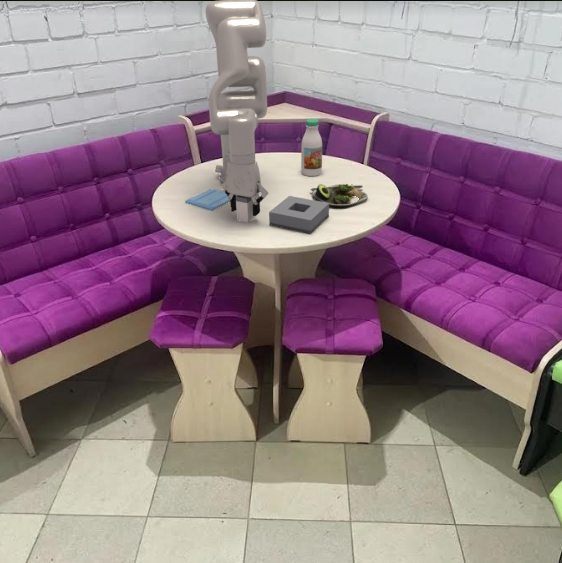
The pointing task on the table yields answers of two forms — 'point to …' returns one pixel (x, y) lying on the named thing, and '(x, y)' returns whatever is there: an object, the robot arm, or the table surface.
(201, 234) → the table surface
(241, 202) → the block
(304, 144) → the milk bottle
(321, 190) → the salad plate
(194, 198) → the blue striped cloth
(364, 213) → the table surface
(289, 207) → the block
